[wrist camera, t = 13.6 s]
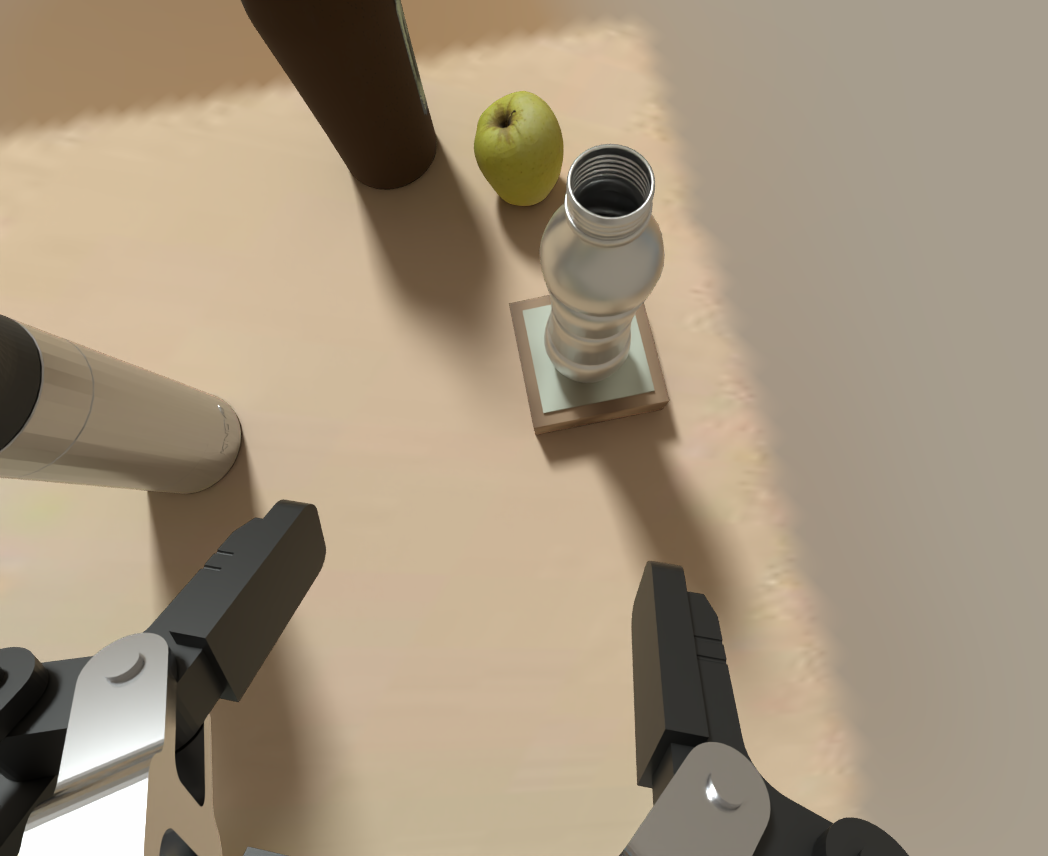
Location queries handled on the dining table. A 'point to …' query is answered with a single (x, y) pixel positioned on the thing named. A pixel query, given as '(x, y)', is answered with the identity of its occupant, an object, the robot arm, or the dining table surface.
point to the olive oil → (355, 81)
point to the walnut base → (585, 403)
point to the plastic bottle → (600, 261)
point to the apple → (519, 148)
